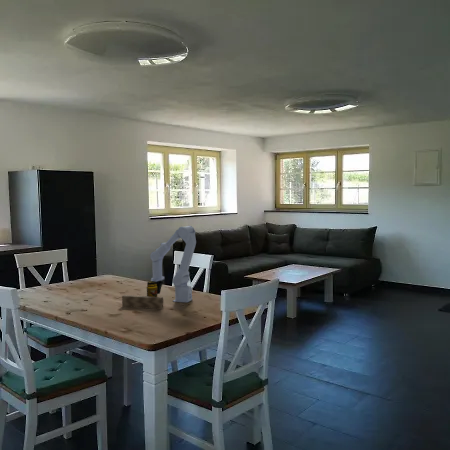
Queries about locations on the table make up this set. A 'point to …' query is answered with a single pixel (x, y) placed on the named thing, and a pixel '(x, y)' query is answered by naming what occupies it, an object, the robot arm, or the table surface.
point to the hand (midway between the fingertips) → (157, 293)
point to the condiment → (151, 289)
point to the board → (142, 302)
